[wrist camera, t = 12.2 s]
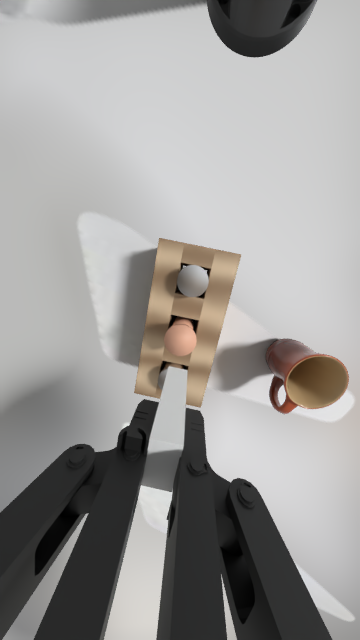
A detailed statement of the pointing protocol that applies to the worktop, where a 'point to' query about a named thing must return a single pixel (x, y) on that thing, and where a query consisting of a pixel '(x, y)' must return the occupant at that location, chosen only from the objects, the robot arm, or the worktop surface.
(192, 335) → the plug mid
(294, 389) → the mug
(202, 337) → the socket board
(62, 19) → the worktop surface
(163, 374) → the plug far
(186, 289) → the plug near
